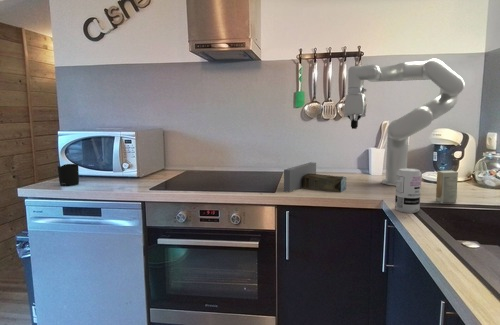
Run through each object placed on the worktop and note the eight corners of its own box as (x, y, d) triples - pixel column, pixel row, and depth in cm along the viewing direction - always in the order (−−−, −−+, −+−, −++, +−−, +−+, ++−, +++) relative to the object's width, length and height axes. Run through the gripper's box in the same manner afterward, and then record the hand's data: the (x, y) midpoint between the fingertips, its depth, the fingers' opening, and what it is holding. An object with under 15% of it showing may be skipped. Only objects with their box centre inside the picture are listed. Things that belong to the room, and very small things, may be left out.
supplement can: (398, 206, 137) (400, 167, 135) (422, 209, 132) (424, 169, 130) (391, 210, 131) (393, 170, 129) (415, 214, 126) (418, 172, 124)
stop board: (315, 182, 185) (316, 162, 183) (289, 192, 162) (289, 170, 161) (310, 181, 187) (310, 162, 185) (283, 191, 164) (283, 169, 162)
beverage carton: (341, 193, 161) (341, 178, 160) (301, 188, 171) (301, 174, 170) (346, 189, 168) (346, 175, 167) (307, 185, 178) (308, 172, 177)
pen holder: (57, 184, 184) (55, 165, 182) (77, 182, 190) (75, 163, 188) (61, 187, 177) (59, 167, 175) (81, 184, 182) (80, 165, 181)
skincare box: (450, 200, 146) (452, 170, 144) (456, 202, 142) (459, 172, 140) (434, 200, 146) (436, 170, 144) (440, 203, 141) (442, 172, 140)
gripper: (372, 91, 179) (371, 128, 181) (343, 92, 187) (342, 128, 190) (368, 90, 172) (366, 129, 175) (338, 92, 181) (337, 128, 183)
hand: (354, 128), depth 182 cm, fingers closed
